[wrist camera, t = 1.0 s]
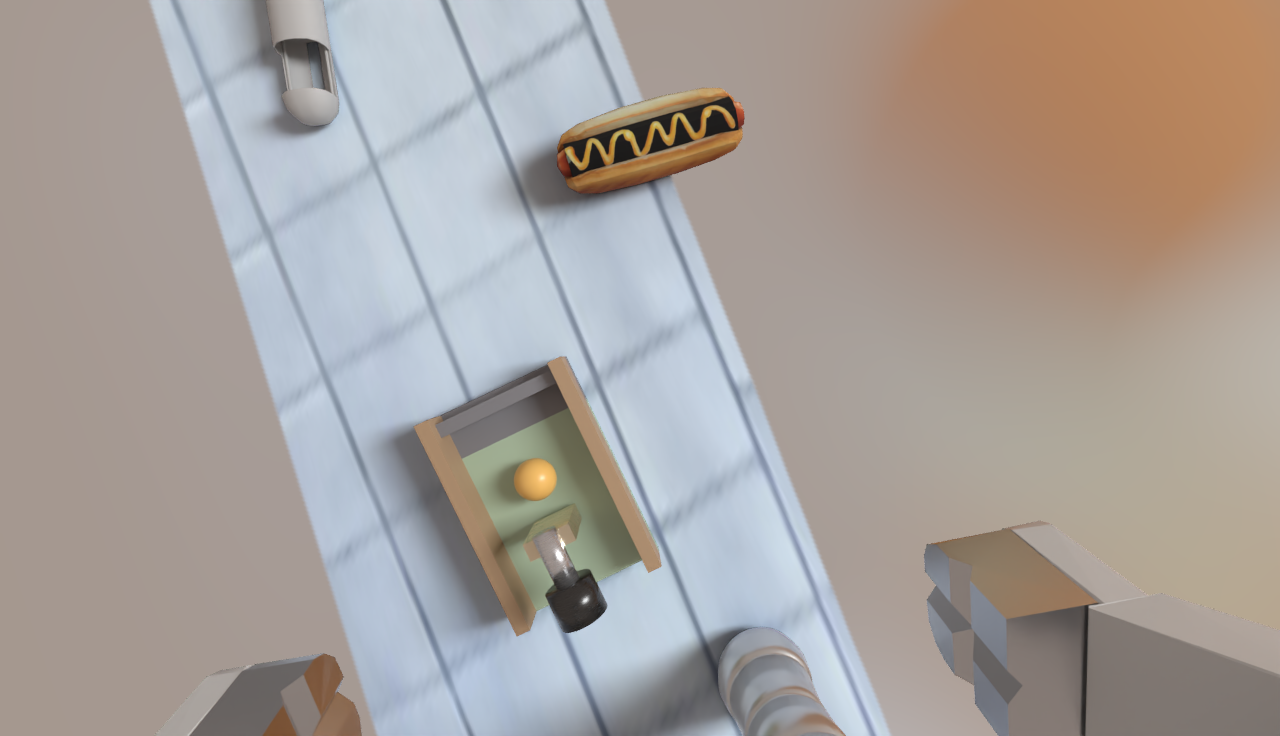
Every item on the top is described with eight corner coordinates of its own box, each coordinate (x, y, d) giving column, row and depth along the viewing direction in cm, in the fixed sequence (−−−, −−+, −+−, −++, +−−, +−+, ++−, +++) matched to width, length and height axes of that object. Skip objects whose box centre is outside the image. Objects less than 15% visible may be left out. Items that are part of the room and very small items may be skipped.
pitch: (658, 547, 45) (661, 566, 41) (526, 611, 45) (516, 636, 41) (566, 356, 44) (560, 356, 40) (432, 420, 44) (413, 426, 40)
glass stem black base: (609, 574, 43) (606, 616, 36) (569, 593, 43) (559, 639, 36) (573, 500, 43) (563, 528, 36) (533, 519, 43) (516, 551, 36)
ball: (566, 484, 44) (561, 494, 41) (528, 502, 44) (521, 513, 41) (548, 447, 43) (542, 454, 40) (510, 465, 43) (502, 473, 40)
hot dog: (552, 146, 44) (542, 119, 39) (723, 97, 44) (735, 64, 39) (571, 211, 44) (564, 192, 39) (741, 161, 44) (756, 137, 39)
